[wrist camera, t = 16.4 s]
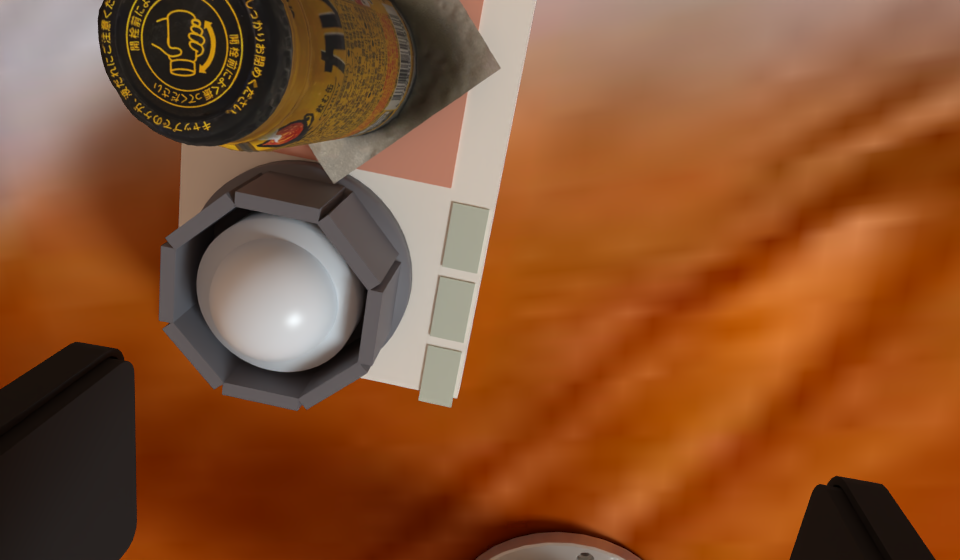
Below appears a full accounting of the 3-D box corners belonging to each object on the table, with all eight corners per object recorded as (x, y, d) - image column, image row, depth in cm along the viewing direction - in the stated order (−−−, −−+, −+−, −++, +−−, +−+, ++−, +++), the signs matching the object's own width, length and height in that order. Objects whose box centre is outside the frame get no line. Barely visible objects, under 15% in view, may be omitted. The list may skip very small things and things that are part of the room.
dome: (361, 359, 35) (329, 418, 30) (218, 328, 35) (163, 382, 30) (381, 219, 32) (349, 259, 28) (227, 187, 33) (168, 221, 28)
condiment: (236, 33, 31) (14, 2, 20) (399, -98, 29) (254, -218, 17) (336, 183, 32) (177, 238, 21) (502, 68, 30) (428, 58, 18)
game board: (458, 397, 37) (440, 462, 32) (183, 337, 38) (123, 393, 33) (545, -49, 30) (542, -58, 25) (202, -116, 30) (127, -138, 25)
